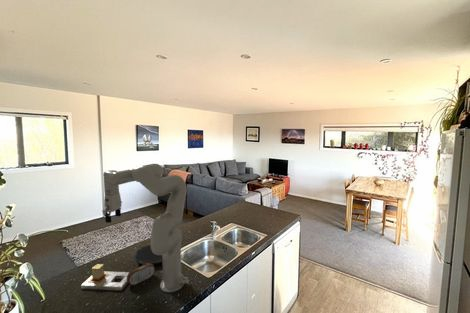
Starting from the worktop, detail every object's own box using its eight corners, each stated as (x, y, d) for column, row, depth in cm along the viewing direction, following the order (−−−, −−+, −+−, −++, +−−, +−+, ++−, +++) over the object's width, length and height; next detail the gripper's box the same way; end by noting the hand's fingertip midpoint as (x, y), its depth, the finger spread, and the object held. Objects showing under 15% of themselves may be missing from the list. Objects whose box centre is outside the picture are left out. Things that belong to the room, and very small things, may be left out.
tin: (153, 273, 130) (153, 260, 129) (156, 276, 128) (155, 262, 127) (126, 286, 120) (125, 271, 119) (128, 289, 117) (128, 274, 116)
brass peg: (104, 279, 125) (103, 264, 124) (99, 284, 121) (98, 268, 120) (98, 279, 125) (96, 264, 124) (92, 283, 121) (91, 268, 120)
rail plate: (133, 275, 128) (133, 271, 128) (121, 290, 116) (121, 286, 116) (96, 274, 129) (96, 270, 129) (81, 288, 117) (81, 284, 117)
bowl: (160, 246, 160) (160, 240, 160) (176, 260, 145) (176, 253, 144) (128, 258, 145) (128, 251, 144) (142, 275, 130) (142, 267, 129)
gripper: (108, 195, 123) (110, 225, 125) (125, 187, 140) (127, 213, 142) (95, 195, 123) (97, 224, 125) (114, 187, 140) (115, 213, 142)
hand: (113, 219), depth 133 cm, fingers open, 9 cm apart
